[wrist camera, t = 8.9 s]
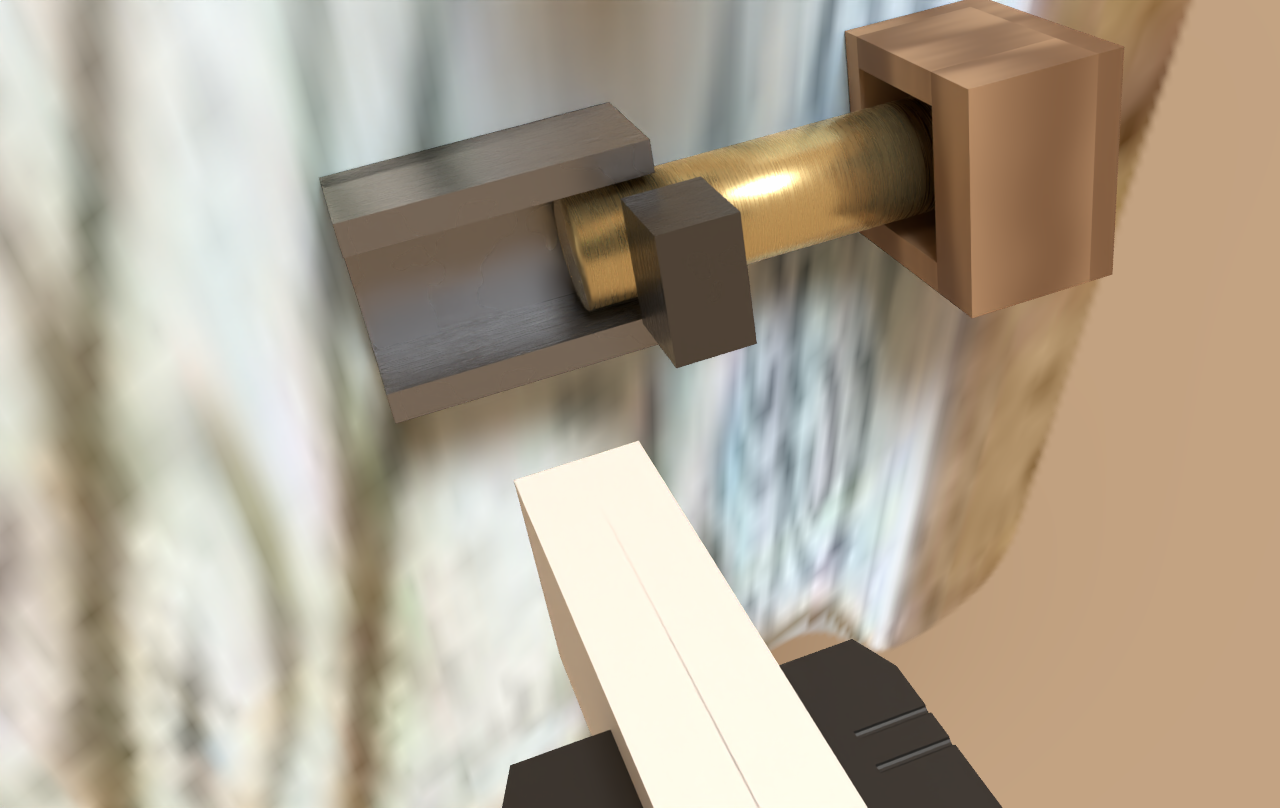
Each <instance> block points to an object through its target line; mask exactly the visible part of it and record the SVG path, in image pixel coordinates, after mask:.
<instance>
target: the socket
mask: <svg viewBox="0 0 1280 808" xmlns="http://www.w3.org/2000/svg"><path fill="white" fill-rule="evenodd" d="M845 38H846V53H847V67H848V82H849V96H850V111H851V112H855V111H859V110H862V109H866V108H870V107H873V106H877V105H881V104H884V103H888V102H892V101H895V100H899V99H903V98H906V97H910V96H914V97H915V98H917V99H919V100H921V101H923V102H925V103H927V104H929V105H931V106H932V127H933V157H934V188H935V210H932V211H928V212H925V213H921V214H918V215H914V216H911V217H908V218H904V219H901V220H897V221H894V222H891V223H887V224H884V225H880V226H877V227H874V228H870V229H867V230H863V231H860V233H861V234H862V235H864V236H865V237H866V238H868V239H869V240H870V241H872V242H873V243H874V244H875V245H877V246H878V247H879V248H881V249H882V250H883V251H885V252H886V253H887V254H889V255H890V256H891V257H893V258H894V259H895V260H896V261H898V262H899V263H900V264H902V265H903V266H904V267H906V268H907V269H908V270H910V271H911V272H912V273H913V274H915V275H916V276H917V277H919V278H920V279H921V280H923V281H924V282H925V283H927V284H928V285H929V286H931V287H932V288H933V289H934V290H936V291H937V292H938V293H940V294H941V295H942V296H944V297H945V298H946V299H948V300H949V301H950V302H951V303H953V304H954V305H955V306H957V307H958V308H959V309H961V310H962V311H963V312H965V313H966V314H967V315H969V316H970V317H971V318H975V317H978V316H981V315H984V314H987V313H991V312H994V311H997V310H1000V309H1003V308H1007V307H1010V306H1013V305H1016V304H1019V303H1023V302H1026V301H1029V300H1032V299H1035V298H1038V297H1042V296H1045V295H1048V294H1051V293H1054V292H1058V291H1061V290H1064V289H1067V288H1070V287H1074V286H1077V285H1080V284H1083V283H1086V282H1090V281H1093V280H1096V279H1099V278H1102V277H1105V276H1109V275H1112V270H1113V251H1114V232H1115V213H1116V194H1117V174H1118V155H1119V135H1120V116H1121V97H1122V77H1123V58H1124V47H1123V46H1120V45H1118V44H1115V43H1112V42H1109V41H1106V40H1103V39H1100V38H1097V37H1095V36H1092V35H1089V34H1086V33H1083V32H1080V31H1077V30H1074V29H1072V28H1069V27H1066V26H1063V25H1060V24H1057V23H1054V22H1052V21H1049V20H1046V19H1043V18H1040V17H1037V16H1034V15H1031V14H1029V13H1026V12H1023V11H1020V10H1017V9H1014V8H1011V7H1008V6H1006V5H1003V4H1000V3H997V2H994V1H991V0H963V1H959V2H955V3H952V4H948V5H944V6H940V7H936V8H932V9H928V10H924V11H921V12H917V13H913V14H909V15H905V16H901V17H897V18H894V19H890V20H886V21H882V22H878V23H874V24H870V25H867V26H863V27H859V28H855V29H851V30H847V31H845Z"/></svg>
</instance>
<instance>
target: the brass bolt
mask: <svg viewBox="0 0 1280 808" xmlns="http://www.w3.org/2000/svg"><path fill="white" fill-rule="evenodd" d="M654 170H655V173H652V174H649V175H645V176H641V177H638V178H634V179H630V180H627V181H623V182H620V183H616V184H612V185H609V186H605V187H601V188H598V189H594V190H590V191H587V192H583V193H579V194H576V195H572V196H568V197H565V198H561V199H557V200H554V214H555V221H556V226H557V231H558V236H559V240H560V244H561V248H562V252H563V255H564V259H565V262H566V265H567V268H568V271H569V274H570V277H571V280H572V282H573V285H574V287H575V290H576V292H577V294H578V296H579V298H580V300H581V302H582V304H583V305H584V307H585V308H586V309H587V310H588V311H590V310H594V309H597V308H600V307H604V306H607V305H611V304H614V303H618V302H621V301H624V300H628V299H631V298H635V297H638V299H639V305H640V311H641V316H642V322H643V325H644V326H645V327H646V328H647V330H648V331H649V332H650V334H651V335H652V336H653V338H654V339H655V340H656V342H657V343H658V344H659V346H660V347H661V348H662V350H663V351H664V352H665V354H666V355H667V356H668V358H669V359H670V360H671V362H672V363H673V364H674V366H675V367H676V368H679V367H682V366H685V365H689V364H692V363H695V362H698V361H702V360H705V359H708V358H712V357H715V356H718V355H721V354H725V353H728V352H731V351H734V350H738V349H741V348H744V347H747V346H751V345H754V344H757V342H756V333H755V325H754V317H753V309H752V301H751V293H750V285H749V277H748V269H747V264H751V263H754V262H757V261H761V260H764V259H768V258H771V257H775V256H778V255H781V254H785V253H788V252H792V251H795V250H798V249H802V248H805V247H809V246H812V245H816V244H819V243H822V242H826V241H829V240H833V239H836V238H839V237H843V236H846V235H850V234H853V233H856V232H860V231H863V230H867V229H870V228H874V227H877V226H880V225H884V224H887V223H891V222H894V221H897V220H901V219H904V218H908V217H911V216H914V215H918V214H921V213H925V212H928V211H932V210H935V188H934V157H933V127H932V106H931V105H929V104H927V103H925V102H923V101H921V100H919V99H917V98H915V97H914V96H910V97H906V98H903V99H899V100H895V101H892V102H888V103H884V104H881V105H877V106H873V107H870V108H866V109H862V110H859V111H855V112H851V113H848V114H844V115H840V116H837V117H833V118H829V119H826V120H822V121H818V122H815V123H811V124H807V125H804V126H800V127H797V128H793V129H789V130H786V131H782V132H778V133H775V134H771V135H767V136H764V137H760V138H756V139H753V140H749V141H745V142H742V143H738V144H734V145H731V146H727V147H723V148H720V149H716V150H712V151H709V152H705V153H701V154H698V155H694V156H690V157H687V158H683V159H679V160H676V161H672V162H668V163H665V164H661V165H657V166H654Z"/></svg>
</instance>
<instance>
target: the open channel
mask: <svg viewBox="0 0 1280 808" xmlns="http://www.w3.org/2000/svg"><path fill="white" fill-rule="evenodd" d="M652 173H655V170H654V163H653V157H652V151H651V145H650V139H649V138H648V137H647V136H645V135H644V134H643V133H642V132H641V131H640V130H639V129H638V128H637V127H636V126H634V125H633V124H632V123H631V122H630V121H629V120H628V119H627V118H626V117H625V116H623V115H622V114H621V113H620V112H619V111H618V110H617V109H616V108H615V107H614V106H612V105H611V104H610V103H609V102H608V103H604V104H600V105H596V106H592V107H589V108H585V109H581V110H577V111H573V112H569V113H566V114H562V115H558V116H554V117H550V118H546V119H543V120H539V121H535V122H531V123H527V124H523V125H520V126H516V127H512V128H508V129H504V130H500V131H497V132H493V133H489V134H485V135H481V136H477V137H474V138H470V139H466V140H462V141H458V142H454V143H451V144H447V145H443V146H439V147H435V148H431V149H428V150H424V151H420V152H416V153H412V154H408V155H405V156H401V157H397V158H393V159H389V160H385V161H382V162H378V163H374V164H370V165H366V166H362V167H359V168H355V169H351V170H347V171H343V172H339V173H336V174H332V175H328V176H324V177H320V182H321V185H322V189H323V193H324V196H325V200H326V203H327V207H328V210H329V214H330V217H331V221H332V224H333V227H334V231H335V234H336V237H337V240H338V243H339V246H340V250H341V253H342V256H343V258H344V259H345V262H346V265H347V268H348V271H349V274H350V278H351V281H352V284H353V287H354V290H355V293H356V297H357V300H358V303H359V306H360V309H361V312H362V316H363V319H364V322H365V325H366V328H367V331H368V335H369V338H370V341H371V344H372V347H373V350H374V354H375V357H376V361H377V364H378V367H379V371H380V374H381V378H382V381H383V385H384V388H385V391H386V395H387V398H388V401H389V404H390V408H391V411H392V414H393V417H394V420H395V423H399V422H402V421H406V420H409V419H412V418H416V417H419V416H422V415H426V414H429V413H432V412H436V411H439V410H442V409H445V408H449V407H452V406H455V405H459V404H462V403H465V402H469V401H472V400H475V399H479V398H482V397H485V396H489V395H492V394H495V393H499V392H502V391H505V390H508V389H512V388H515V387H518V386H522V385H525V384H528V383H532V382H535V381H538V380H542V379H545V378H548V377H552V376H555V375H558V374H562V373H565V372H568V371H571V370H575V369H578V368H581V367H585V366H588V365H591V364H595V363H598V362H601V361H605V360H608V359H611V358H615V357H618V356H621V355H625V354H628V353H631V352H634V351H638V350H641V349H644V348H648V347H651V346H654V345H658V343H657V342H656V340H655V339H654V338H653V336H652V335H651V334H650V332H649V331H648V330H647V328H646V327H645V326H644V325H643V322H642V316H641V311H640V305H639V299H638V297H635V298H631V299H628V300H624V301H621V302H618V303H614V304H611V305H607V306H604V307H600V308H597V309H594V310H590V311H588V310H587V309H586V308H585V307H584V305H583V304H582V302H581V300H580V298H579V296H578V294H577V292H576V290H575V287H574V285H573V282H572V280H571V277H570V274H569V271H568V268H567V265H566V262H565V259H564V255H563V252H562V248H561V244H560V240H559V236H558V231H557V226H556V221H555V214H554V200H557V199H561V198H565V197H568V196H572V195H576V194H579V193H583V192H587V191H590V190H594V189H598V188H601V187H605V186H609V185H612V184H616V183H620V182H623V181H627V180H630V179H634V178H638V177H641V176H645V175H649V174H652Z"/></svg>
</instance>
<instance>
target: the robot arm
mask: <svg viewBox="0 0 1280 808" xmlns="http://www.w3.org/2000/svg"><path fill="white" fill-rule="evenodd" d="M514 483H515V487H516V490H517V494H518V498H519V502H520V506H521V509H522V513H523V517H524V521H525V525H526V529H527V532H528V536H529V540H530V544H531V548H532V551H533V555H534V559H535V563H536V567H537V570H538V574H539V578H540V582H541V586H542V589H543V593H544V597H545V601H546V605H547V608H548V612H549V616H550V620H551V624H552V627H553V631H554V635H555V639H556V643H557V646H558V650H559V654H560V657H561V660H562V662H563V665H564V667H565V670H566V673H567V675H568V678H569V680H570V683H571V685H572V688H573V690H574V693H575V695H576V698H577V700H578V703H579V705H580V708H581V710H582V713H583V715H584V718H585V720H586V723H587V726H588V728H589V731H590V733H591V737H588V738H585V739H582V740H580V741H577V742H574V743H571V744H569V745H566V746H563V747H560V748H557V749H555V750H552V751H549V752H546V753H544V754H541V755H538V756H535V757H532V758H530V759H527V760H524V761H521V762H519V763H516V764H513V765H510V770H509V775H508V780H507V785H506V790H505V795H504V800H503V806H502V808H1002V807H1001V805H1000V804H999V802H998V801H997V800H996V798H995V797H994V796H993V794H992V793H991V792H990V791H989V789H988V788H987V786H986V785H985V784H984V782H983V781H982V780H981V778H980V777H979V776H978V774H977V773H976V772H975V770H974V769H973V768H972V766H971V765H970V764H969V762H968V761H967V760H966V758H965V757H964V756H963V754H962V753H961V752H960V750H959V749H958V748H957V746H956V745H952V743H951V741H950V738H949V736H948V734H947V733H946V732H945V730H944V729H943V728H942V726H941V725H940V724H939V722H938V721H937V720H936V718H935V717H934V716H933V714H932V713H928V711H927V709H926V706H925V704H924V702H923V701H922V700H921V698H920V697H919V696H918V694H917V693H916V692H915V690H914V689H913V688H912V686H911V685H910V683H909V682H908V681H907V679H906V678H905V677H904V676H903V674H902V673H901V671H900V670H899V669H898V667H897V666H896V665H894V664H892V663H891V662H889V661H887V660H886V659H884V658H882V657H881V656H879V655H878V654H876V653H874V652H873V651H871V650H869V649H868V648H866V647H864V646H863V645H861V644H859V643H858V642H856V641H854V640H853V639H851V640H848V641H845V642H843V643H840V644H837V645H834V646H832V647H829V648H826V649H823V650H820V651H818V652H815V653H812V654H809V655H807V656H804V657H801V658H798V659H795V660H793V661H790V662H787V663H784V664H782V665H778V663H777V662H776V660H775V659H774V657H773V655H772V654H771V652H770V651H769V649H768V647H767V646H766V644H765V643H764V641H763V639H762V638H761V636H760V635H759V633H758V631H757V630H756V628H755V627H754V625H753V623H752V622H751V620H750V618H749V617H748V615H747V614H746V612H745V610H744V609H743V607H742V606H741V604H740V602H739V601H738V599H737V598H736V596H735V594H734V593H733V591H732V590H731V588H730V586H729V585H728V583H727V582H726V580H725V578H724V577H723V575H722V574H721V572H720V570H719V569H718V567H717V566H716V564H715V562H714V561H713V559H712V558H711V556H710V554H709V553H708V551H707V550H706V548H705V546H704V545H703V543H702V542H701V540H700V538H699V537H698V535H697V534H696V532H695V530H694V529H693V527H692V526H691V524H690V522H689V521H688V519H687V518H686V516H685V514H684V513H683V511H682V510H681V508H680V506H679V505H678V503H677V501H676V500H675V498H674V497H673V495H672V493H671V492H670V490H669V489H668V487H667V485H666V484H665V482H664V481H663V479H662V477H661V476H660V474H659V473H658V471H657V469H656V468H655V466H654V465H653V463H652V461H651V460H650V458H649V457H648V455H647V453H646V452H645V450H644V449H643V447H642V445H641V444H640V442H639V441H636V442H633V443H630V444H627V445H623V446H620V447H617V448H614V449H611V450H608V451H604V452H601V453H598V454H595V455H592V456H589V457H586V458H582V459H579V460H576V461H573V462H570V463H567V464H563V465H560V466H557V467H554V468H551V469H548V470H544V471H541V472H538V473H535V474H532V475H529V476H525V477H522V478H519V479H516V480H514Z"/></svg>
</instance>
